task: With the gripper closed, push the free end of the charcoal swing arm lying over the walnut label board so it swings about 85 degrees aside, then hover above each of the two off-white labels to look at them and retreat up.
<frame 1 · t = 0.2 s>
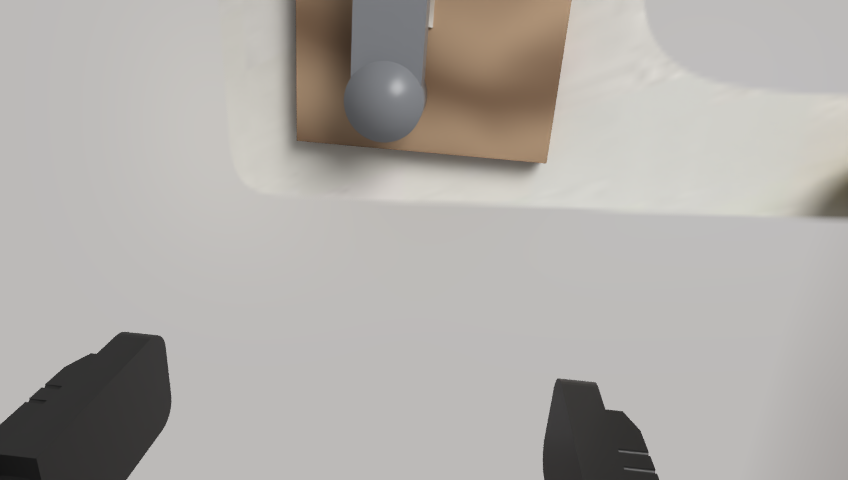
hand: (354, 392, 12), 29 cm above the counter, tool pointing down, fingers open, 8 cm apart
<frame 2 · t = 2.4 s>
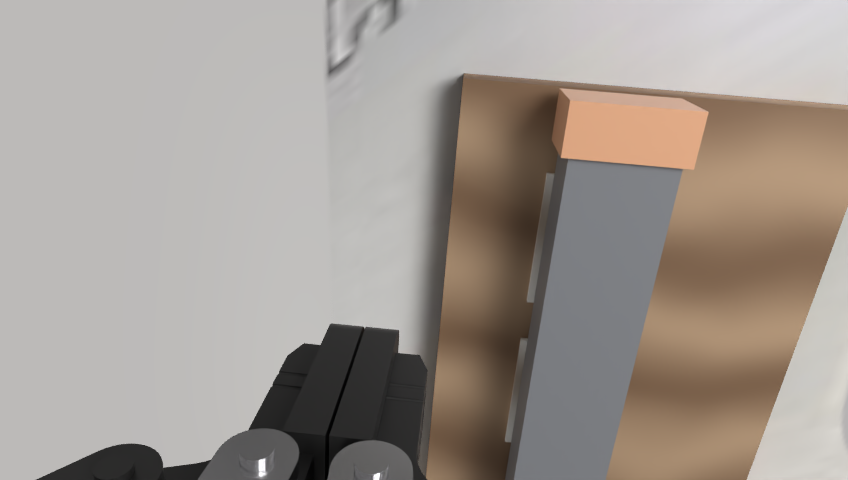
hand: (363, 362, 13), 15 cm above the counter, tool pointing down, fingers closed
label board: (601, 347, 29), on the counter
swing arm: (574, 376, 26), point 4 cm above the counter, hinge at 0.0°
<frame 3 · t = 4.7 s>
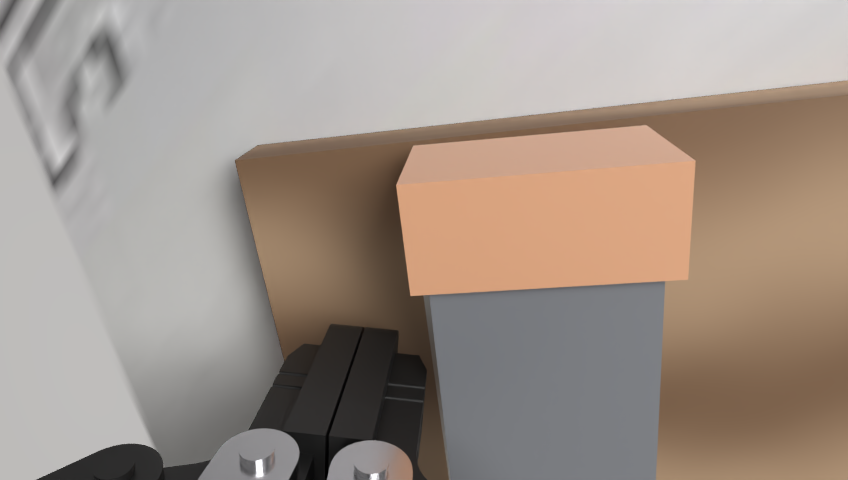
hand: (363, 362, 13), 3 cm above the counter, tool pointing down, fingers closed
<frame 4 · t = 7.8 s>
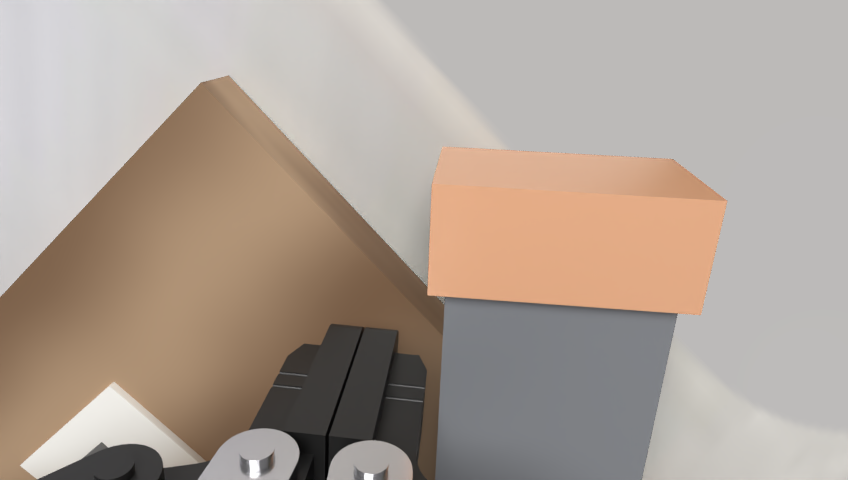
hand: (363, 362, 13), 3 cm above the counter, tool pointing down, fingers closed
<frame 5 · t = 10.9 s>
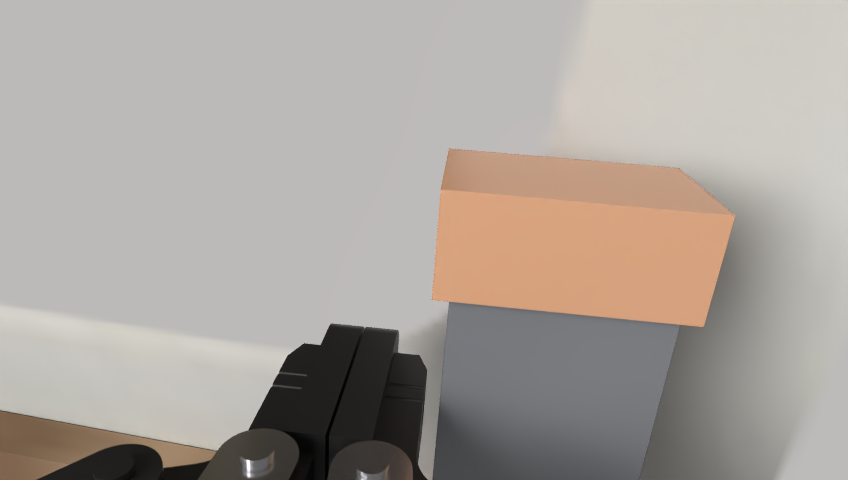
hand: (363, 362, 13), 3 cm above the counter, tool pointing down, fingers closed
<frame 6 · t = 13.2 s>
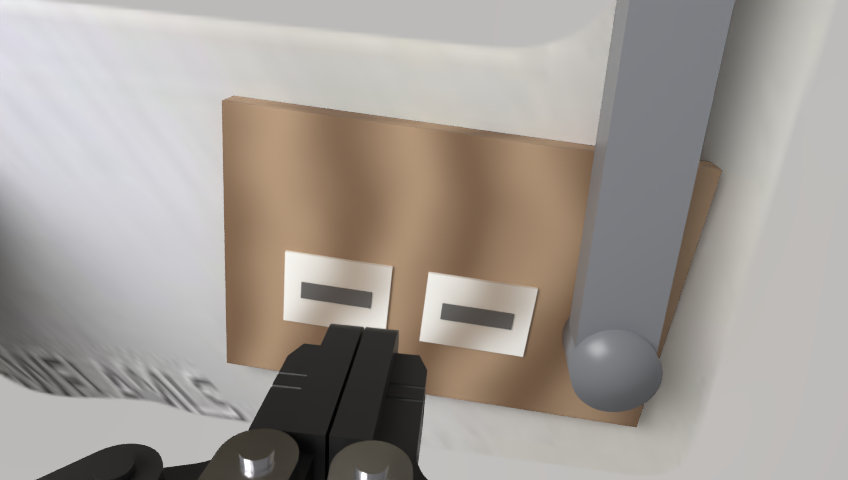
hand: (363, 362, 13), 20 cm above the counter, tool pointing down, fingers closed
label board: (447, 265, 34), on the counter
swing arm: (641, 178, 27), point 4 cm above the counter, hinge at 85.0°
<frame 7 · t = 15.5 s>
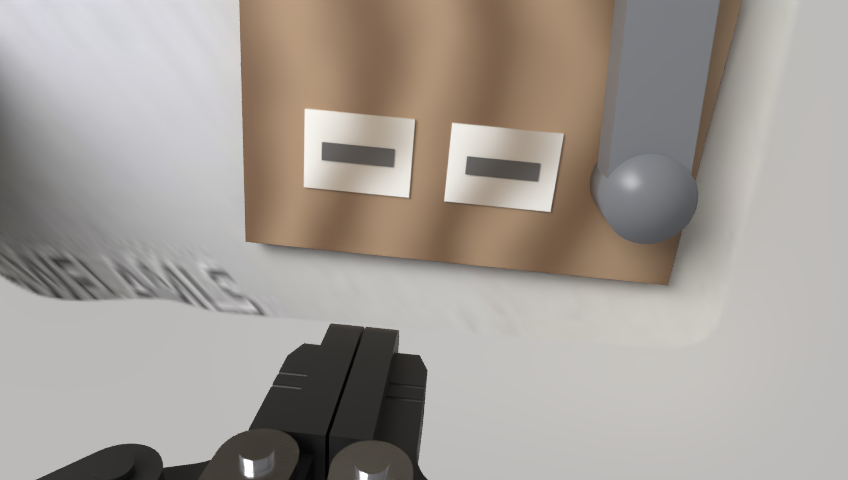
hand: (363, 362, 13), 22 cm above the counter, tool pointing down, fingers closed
label board: (469, 123, 33), on the counter
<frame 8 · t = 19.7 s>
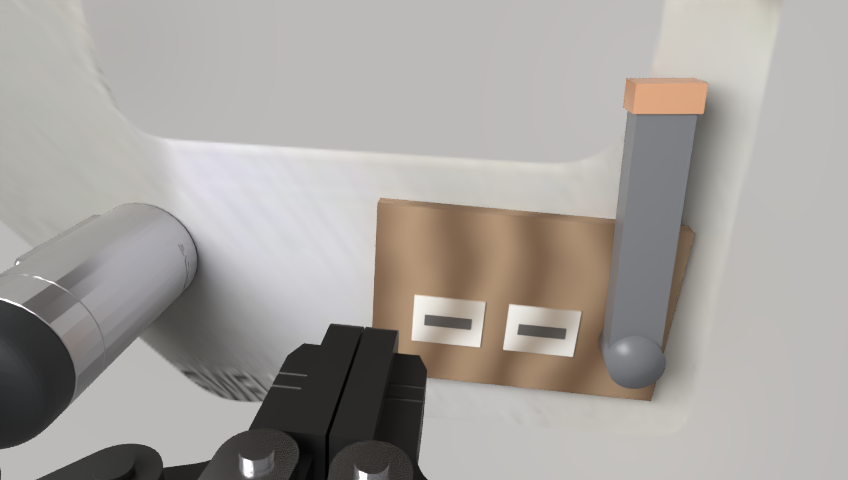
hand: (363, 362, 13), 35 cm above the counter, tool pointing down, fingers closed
label board: (519, 298, 51), on the counter
swing arm: (645, 242, 44), point 4 cm above the counter, hinge at 85.0°
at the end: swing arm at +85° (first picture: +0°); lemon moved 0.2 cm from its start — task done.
